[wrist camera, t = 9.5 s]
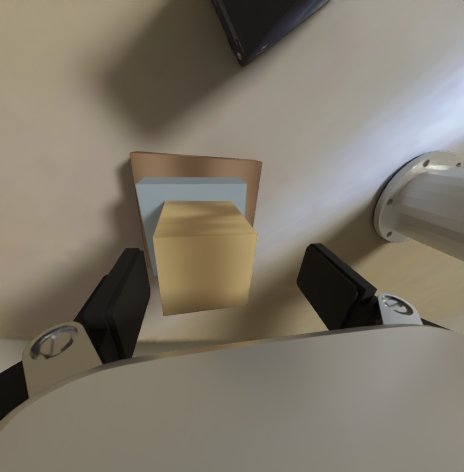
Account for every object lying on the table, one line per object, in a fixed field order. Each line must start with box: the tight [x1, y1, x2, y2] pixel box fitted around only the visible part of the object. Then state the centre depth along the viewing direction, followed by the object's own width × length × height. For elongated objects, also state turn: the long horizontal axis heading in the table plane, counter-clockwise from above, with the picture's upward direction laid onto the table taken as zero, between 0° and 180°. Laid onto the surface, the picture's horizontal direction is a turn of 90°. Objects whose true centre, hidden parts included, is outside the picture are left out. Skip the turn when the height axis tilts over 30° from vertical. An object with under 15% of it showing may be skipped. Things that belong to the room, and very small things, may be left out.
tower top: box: [135, 177, 247, 276], centre depth 16 cm, size 8×8×3 cm
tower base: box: [130, 151, 262, 268], centre depth 19 cm, size 11×11×3 cm
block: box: [153, 201, 258, 316], centre depth 12 cm, size 5×5×6 cm
